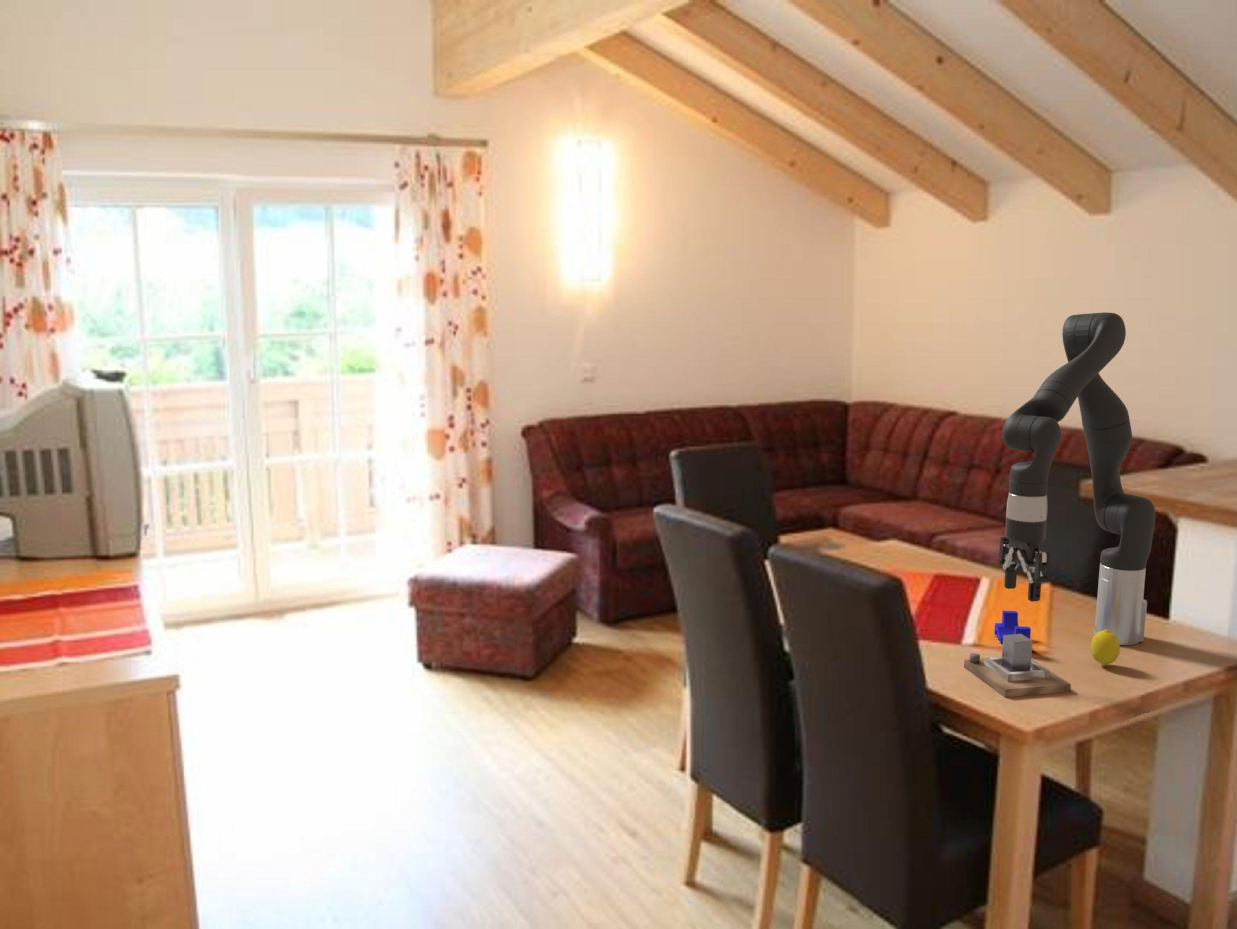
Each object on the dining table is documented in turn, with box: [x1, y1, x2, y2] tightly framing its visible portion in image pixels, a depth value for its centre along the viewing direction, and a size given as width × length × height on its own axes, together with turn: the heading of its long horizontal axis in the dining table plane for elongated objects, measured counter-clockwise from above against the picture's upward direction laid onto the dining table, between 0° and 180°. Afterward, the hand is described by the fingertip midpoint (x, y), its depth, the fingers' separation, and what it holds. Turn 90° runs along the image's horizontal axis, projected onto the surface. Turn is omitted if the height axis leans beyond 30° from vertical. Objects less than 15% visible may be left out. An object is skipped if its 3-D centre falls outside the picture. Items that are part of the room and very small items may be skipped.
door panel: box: [963, 652, 1072, 698], centre depth 208 cm, size 14×16×3 cm
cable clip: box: [993, 610, 1032, 645], centre depth 227 cm, size 12×4×6 cm, turn 173°
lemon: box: [1090, 629, 1121, 667], centre depth 214 cm, size 6×6×8 cm
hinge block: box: [1001, 634, 1033, 672], centre depth 207 cm, size 4×4×7 cm
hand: (1021, 594), depth 205 cm, fingers open, 8 cm apart
